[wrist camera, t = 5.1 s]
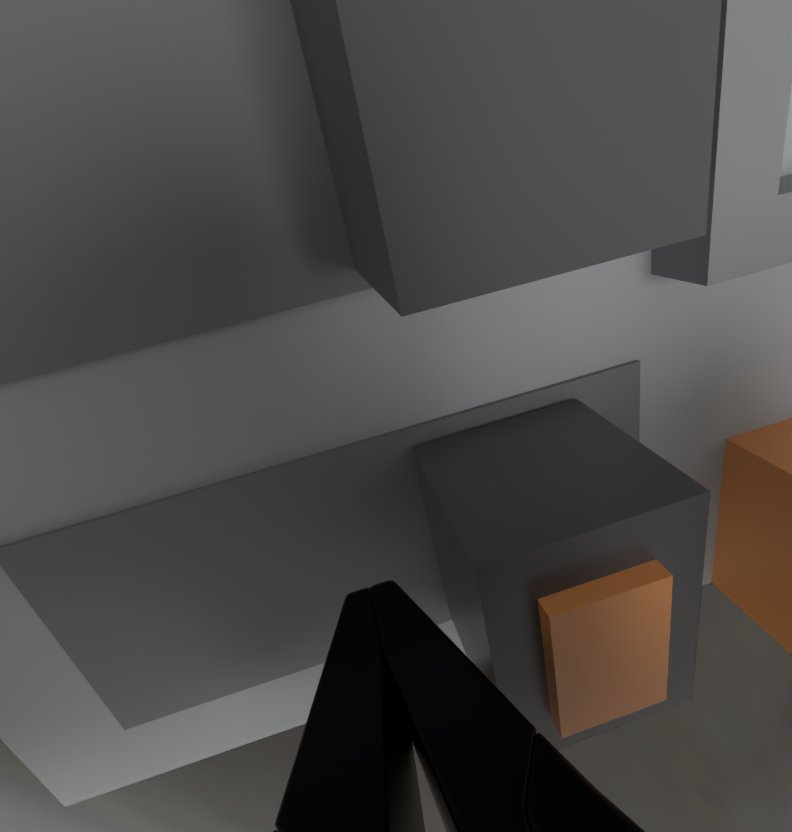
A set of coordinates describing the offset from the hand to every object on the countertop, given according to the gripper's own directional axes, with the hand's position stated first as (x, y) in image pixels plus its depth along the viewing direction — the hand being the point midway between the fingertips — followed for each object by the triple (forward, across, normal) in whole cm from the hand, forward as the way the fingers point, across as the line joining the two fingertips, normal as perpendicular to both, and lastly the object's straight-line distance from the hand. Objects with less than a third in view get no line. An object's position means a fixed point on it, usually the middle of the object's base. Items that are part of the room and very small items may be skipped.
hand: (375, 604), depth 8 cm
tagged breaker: (+1, -3, 0) cm, 3 cm away
